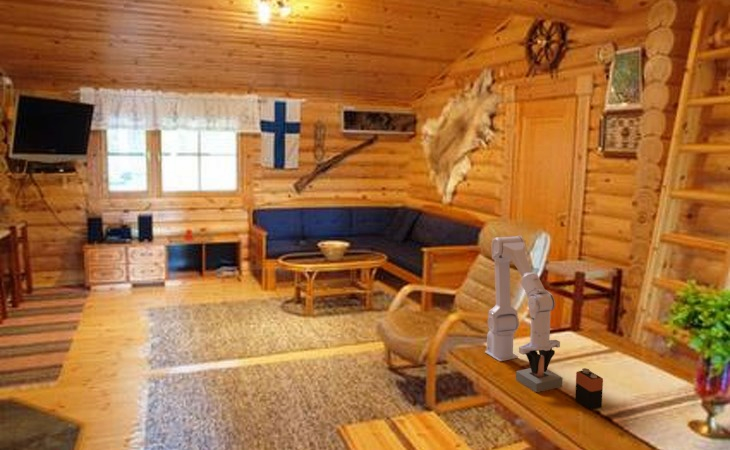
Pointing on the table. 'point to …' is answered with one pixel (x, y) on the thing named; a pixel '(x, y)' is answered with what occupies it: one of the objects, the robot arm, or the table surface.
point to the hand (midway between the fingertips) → (538, 371)
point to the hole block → (538, 380)
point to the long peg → (540, 368)
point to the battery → (589, 389)
